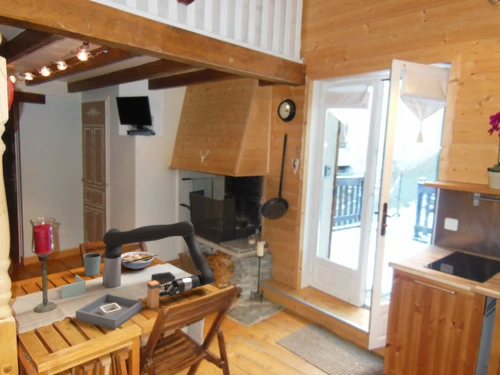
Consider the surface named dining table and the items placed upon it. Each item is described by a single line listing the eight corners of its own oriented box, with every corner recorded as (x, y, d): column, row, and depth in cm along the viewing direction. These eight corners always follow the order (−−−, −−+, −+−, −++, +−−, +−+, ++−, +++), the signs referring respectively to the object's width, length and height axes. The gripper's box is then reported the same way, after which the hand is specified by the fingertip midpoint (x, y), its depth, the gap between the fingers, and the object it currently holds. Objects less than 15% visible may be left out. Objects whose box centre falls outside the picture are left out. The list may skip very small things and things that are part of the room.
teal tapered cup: (79, 274, 228) (79, 256, 226) (91, 269, 237) (91, 251, 235) (93, 277, 225) (93, 258, 223) (104, 272, 234) (104, 254, 233)
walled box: (75, 319, 174) (75, 311, 173) (106, 301, 195) (106, 293, 194) (115, 329, 168) (115, 320, 167) (142, 309, 189) (142, 300, 188)
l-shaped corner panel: (77, 287, 211) (77, 274, 210) (85, 294, 203) (85, 281, 202) (54, 292, 203) (54, 279, 202) (62, 300, 194) (62, 286, 193)
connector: (151, 309, 189) (151, 285, 187) (146, 305, 193) (147, 282, 191) (159, 306, 192) (159, 283, 191) (154, 303, 196) (155, 280, 194)
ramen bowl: (142, 258, 262) (142, 247, 261) (162, 267, 248) (162, 255, 247) (110, 267, 243) (110, 255, 242) (129, 276, 229) (129, 264, 228)
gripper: (175, 274, 208) (149, 280, 197) (189, 282, 198) (162, 289, 187) (174, 287, 209) (148, 294, 198) (188, 295, 199) (162, 303, 188)
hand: (155, 292), depth 192 cm, fingers open, 8 cm apart
